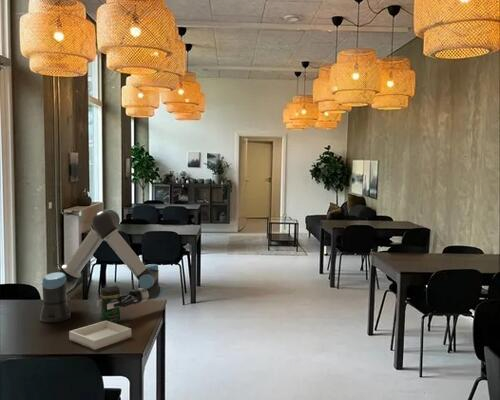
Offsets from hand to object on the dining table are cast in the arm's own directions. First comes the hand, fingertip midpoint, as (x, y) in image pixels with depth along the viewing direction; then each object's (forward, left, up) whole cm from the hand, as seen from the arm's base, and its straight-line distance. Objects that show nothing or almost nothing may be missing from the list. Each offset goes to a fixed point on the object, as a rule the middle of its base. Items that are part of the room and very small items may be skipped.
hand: (102, 305), depth 238 cm
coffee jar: (0, +5, -10) cm, 11 cm away
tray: (+16, -12, -10) cm, 23 cm away
